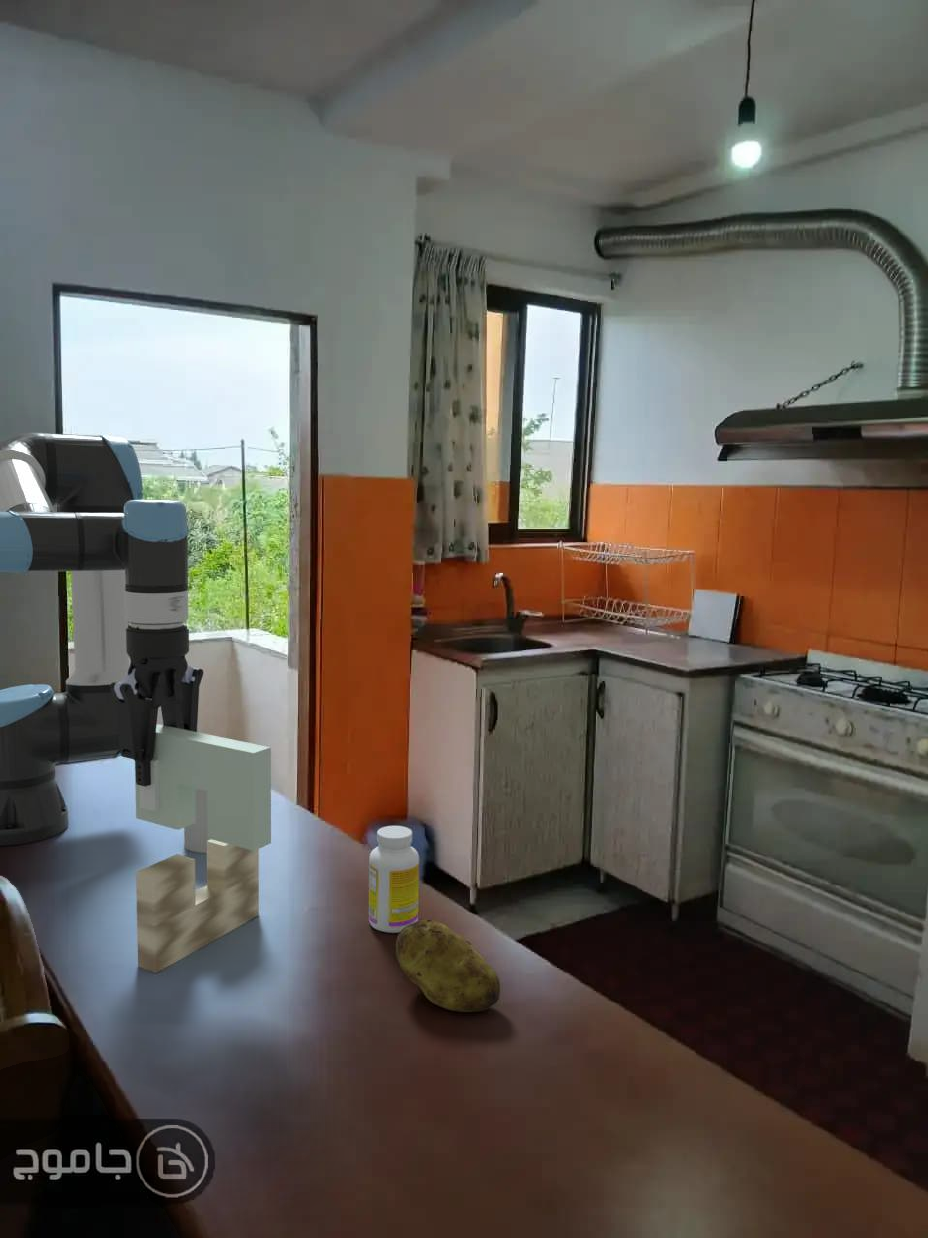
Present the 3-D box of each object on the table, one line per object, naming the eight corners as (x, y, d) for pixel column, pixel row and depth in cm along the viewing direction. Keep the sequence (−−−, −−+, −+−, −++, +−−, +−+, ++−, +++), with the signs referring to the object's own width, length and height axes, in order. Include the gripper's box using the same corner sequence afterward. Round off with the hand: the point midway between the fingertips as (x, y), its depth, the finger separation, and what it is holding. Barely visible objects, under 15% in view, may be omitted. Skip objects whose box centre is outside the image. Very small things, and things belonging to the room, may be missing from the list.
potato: (449, 1036, 101) (451, 966, 99) (383, 983, 111) (385, 920, 109) (508, 1011, 106) (510, 945, 104) (440, 963, 116) (442, 902, 114)
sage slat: (136, 818, 121) (134, 727, 119) (154, 811, 123) (152, 723, 122) (254, 851, 111) (253, 753, 109) (271, 843, 114) (270, 747, 112)
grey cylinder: (228, 853, 147) (228, 780, 145) (177, 851, 147) (176, 778, 145) (242, 834, 155) (241, 764, 153) (193, 832, 155) (192, 762, 153)
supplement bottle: (426, 918, 127) (429, 828, 125) (403, 939, 121) (405, 845, 119) (383, 908, 130) (385, 819, 128) (358, 927, 124) (360, 835, 122)
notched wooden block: (155, 973, 111) (153, 877, 109) (138, 966, 113) (135, 872, 111) (258, 915, 127) (258, 830, 125) (242, 909, 128) (241, 825, 126)
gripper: (126, 634, 108) (131, 829, 112) (225, 619, 122) (227, 792, 126) (83, 628, 112) (88, 817, 115) (184, 614, 126) (186, 783, 129)
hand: (161, 804), depth 120 cm, fingers closed on sage slat, 3 cm apart
